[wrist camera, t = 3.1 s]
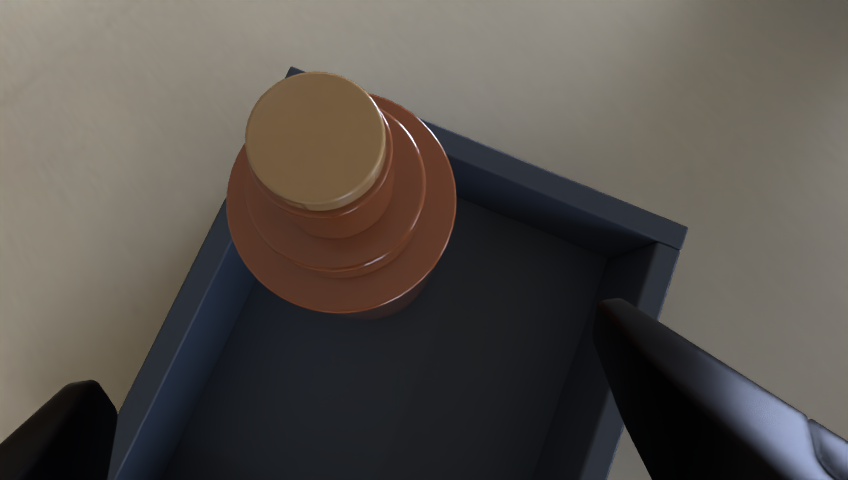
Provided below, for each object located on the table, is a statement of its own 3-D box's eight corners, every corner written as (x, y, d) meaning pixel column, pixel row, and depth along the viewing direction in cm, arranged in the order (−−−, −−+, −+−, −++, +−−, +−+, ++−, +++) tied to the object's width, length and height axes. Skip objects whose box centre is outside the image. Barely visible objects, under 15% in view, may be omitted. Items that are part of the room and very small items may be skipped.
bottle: (402, 340, 19) (405, 361, 7) (283, 291, 19) (77, 223, 7) (450, 223, 20) (529, 55, 8) (336, 176, 20) (235, -63, 8)
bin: (487, 660, 18) (515, 768, 14) (129, 505, 18) (43, 561, 14) (627, 249, 21) (689, 227, 16) (313, 121, 21) (290, 65, 17)
